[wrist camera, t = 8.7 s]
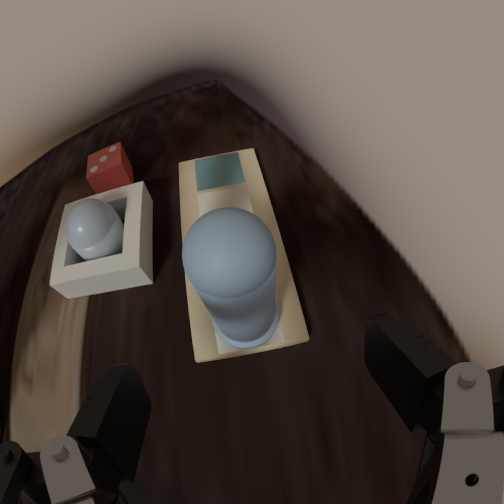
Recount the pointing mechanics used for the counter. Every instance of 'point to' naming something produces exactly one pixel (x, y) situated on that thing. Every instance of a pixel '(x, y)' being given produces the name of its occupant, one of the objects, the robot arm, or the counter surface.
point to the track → (257, 202)
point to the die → (109, 169)
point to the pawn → (234, 274)
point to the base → (116, 266)
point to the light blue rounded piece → (94, 229)
